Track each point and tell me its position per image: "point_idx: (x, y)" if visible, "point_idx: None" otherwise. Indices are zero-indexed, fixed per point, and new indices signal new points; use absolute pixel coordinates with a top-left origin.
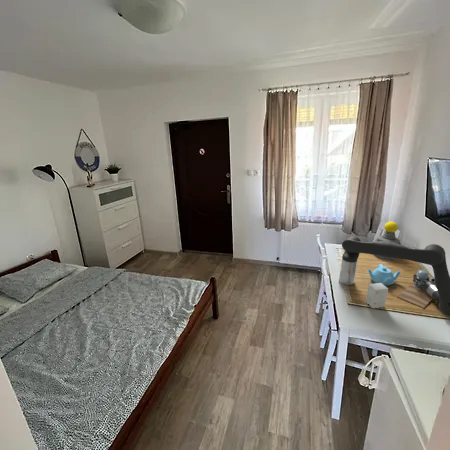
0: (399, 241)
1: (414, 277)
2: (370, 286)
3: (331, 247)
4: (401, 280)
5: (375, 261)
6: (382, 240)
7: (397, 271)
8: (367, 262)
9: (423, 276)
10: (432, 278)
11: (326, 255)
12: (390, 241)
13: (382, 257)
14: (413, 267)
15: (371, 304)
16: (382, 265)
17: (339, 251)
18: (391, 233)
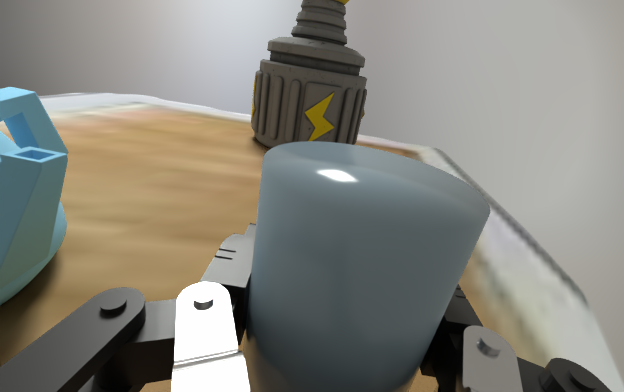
0: (355, 55)
1: (104, 299)
2: None
3: (121, 98)
4: (179, 288)
5: (216, 149)
6: (274, 40)
7: (23, 153)
8: (160, 145)
9: (331, 297)
10: (551, 360)
11: None
12: (306, 42)
13: (269, 139)
14: None
15: None
16: (12, 96)
17: (122, 107)
18: (321, 2)
